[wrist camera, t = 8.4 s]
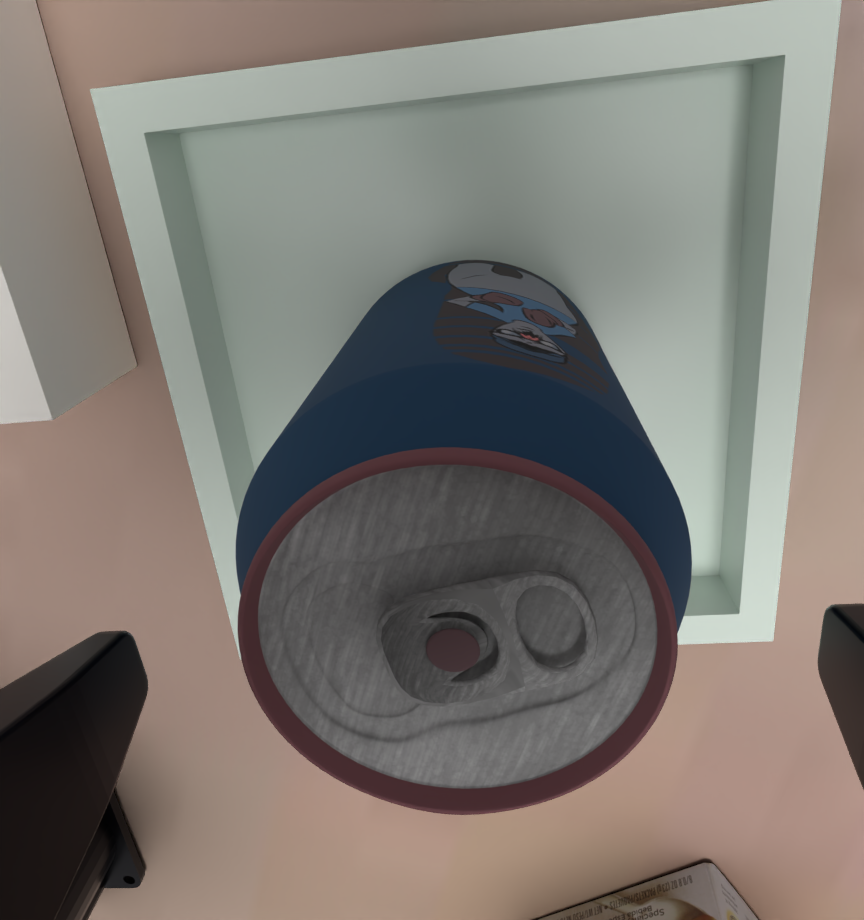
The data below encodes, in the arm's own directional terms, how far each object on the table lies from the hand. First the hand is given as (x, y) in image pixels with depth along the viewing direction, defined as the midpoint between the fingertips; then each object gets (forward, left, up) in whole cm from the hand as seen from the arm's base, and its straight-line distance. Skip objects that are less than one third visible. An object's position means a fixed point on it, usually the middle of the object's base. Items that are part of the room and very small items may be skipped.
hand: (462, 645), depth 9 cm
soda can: (0, 0, -12) cm, 12 cm away
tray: (0, 0, -12) cm, 12 cm away
